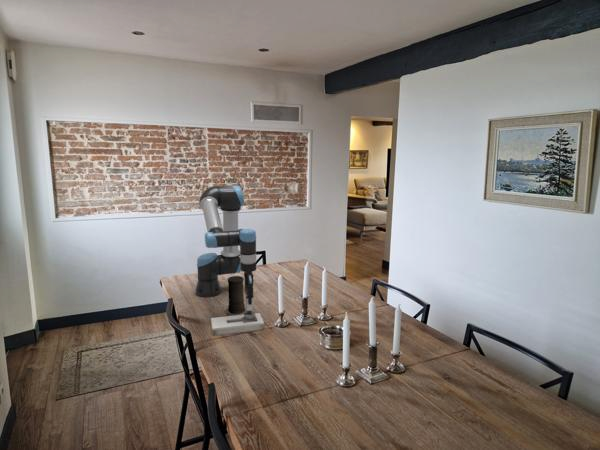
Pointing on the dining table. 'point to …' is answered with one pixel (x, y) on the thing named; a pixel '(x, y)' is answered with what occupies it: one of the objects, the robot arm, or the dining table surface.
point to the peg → (249, 314)
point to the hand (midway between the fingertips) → (249, 308)
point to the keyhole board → (236, 324)
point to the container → (236, 295)
